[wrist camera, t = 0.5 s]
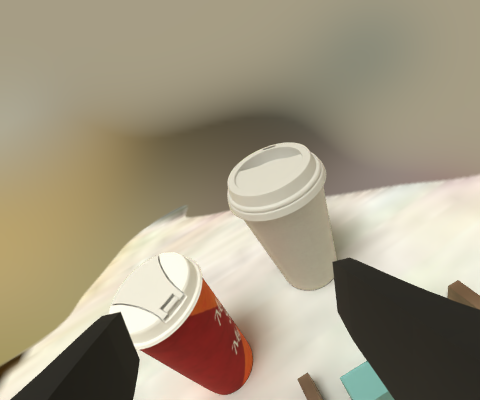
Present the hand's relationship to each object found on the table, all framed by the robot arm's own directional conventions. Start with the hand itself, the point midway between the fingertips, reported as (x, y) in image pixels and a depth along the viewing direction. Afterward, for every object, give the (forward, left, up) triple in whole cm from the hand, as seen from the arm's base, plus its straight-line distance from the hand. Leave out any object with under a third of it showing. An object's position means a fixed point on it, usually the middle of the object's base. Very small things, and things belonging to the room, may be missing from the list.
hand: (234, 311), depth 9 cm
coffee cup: (+15, -6, -20) cm, 26 cm away
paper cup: (+10, +7, -20) cm, 23 cm away
